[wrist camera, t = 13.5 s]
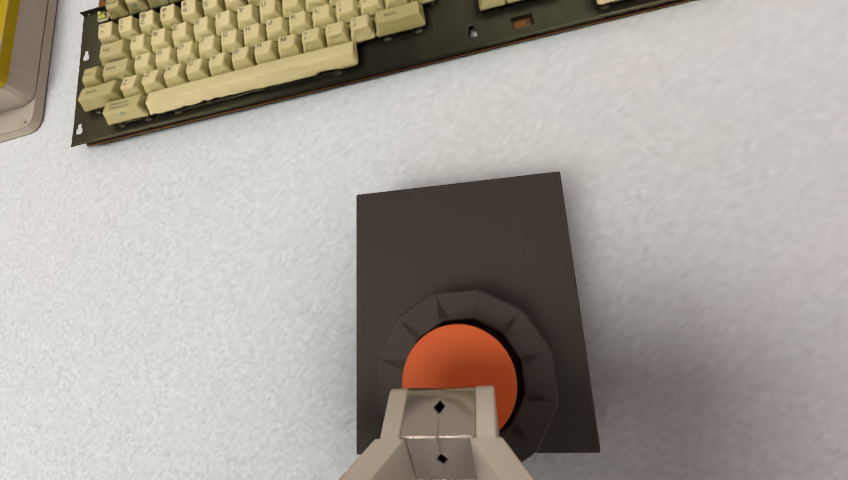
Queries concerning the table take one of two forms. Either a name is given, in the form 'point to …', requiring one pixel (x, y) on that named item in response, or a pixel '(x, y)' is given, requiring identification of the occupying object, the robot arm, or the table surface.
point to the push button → (463, 364)
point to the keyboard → (284, 50)
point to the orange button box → (476, 299)
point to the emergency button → (24, 63)
